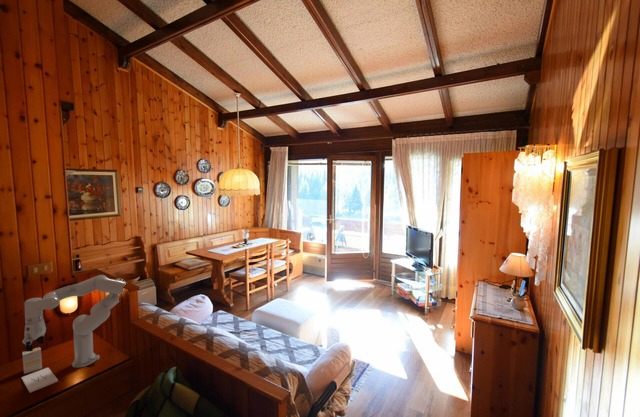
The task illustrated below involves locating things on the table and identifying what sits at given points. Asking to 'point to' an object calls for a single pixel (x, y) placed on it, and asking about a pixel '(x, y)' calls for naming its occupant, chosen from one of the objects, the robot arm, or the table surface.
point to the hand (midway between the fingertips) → (35, 347)
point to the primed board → (39, 379)
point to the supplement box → (32, 360)
